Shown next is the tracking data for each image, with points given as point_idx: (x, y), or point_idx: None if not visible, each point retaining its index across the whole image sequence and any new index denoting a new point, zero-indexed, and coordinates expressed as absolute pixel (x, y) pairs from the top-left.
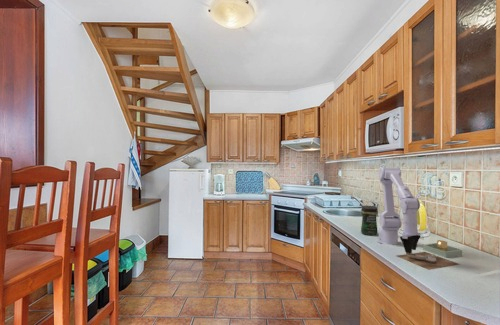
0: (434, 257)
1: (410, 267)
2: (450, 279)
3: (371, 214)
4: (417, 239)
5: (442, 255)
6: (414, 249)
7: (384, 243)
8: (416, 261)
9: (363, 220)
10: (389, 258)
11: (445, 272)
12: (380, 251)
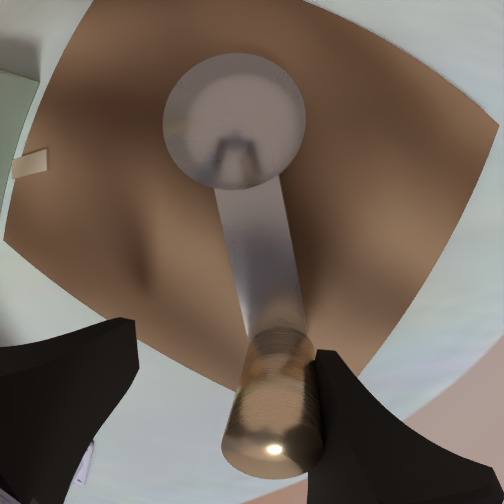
0: (194, 77)
1: (482, 268)
2: (488, 6)
3: None
4: (14, 381)
5: (11, 104)
6: (132, 331)
7: (81, 468)
8: (358, 249)
9: None
10: None
11: (384, 9)
12: (240, 488)
